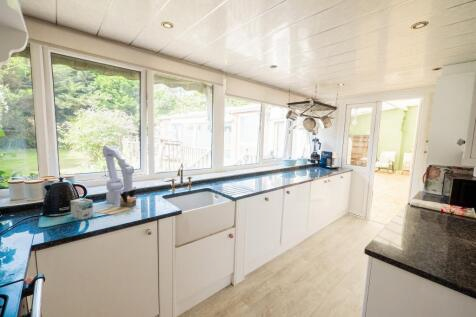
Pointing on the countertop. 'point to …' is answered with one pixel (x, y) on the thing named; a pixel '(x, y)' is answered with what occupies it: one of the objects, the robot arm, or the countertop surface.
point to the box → (128, 203)
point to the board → (114, 210)
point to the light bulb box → (81, 208)
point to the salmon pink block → (129, 199)
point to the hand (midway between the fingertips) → (128, 200)
